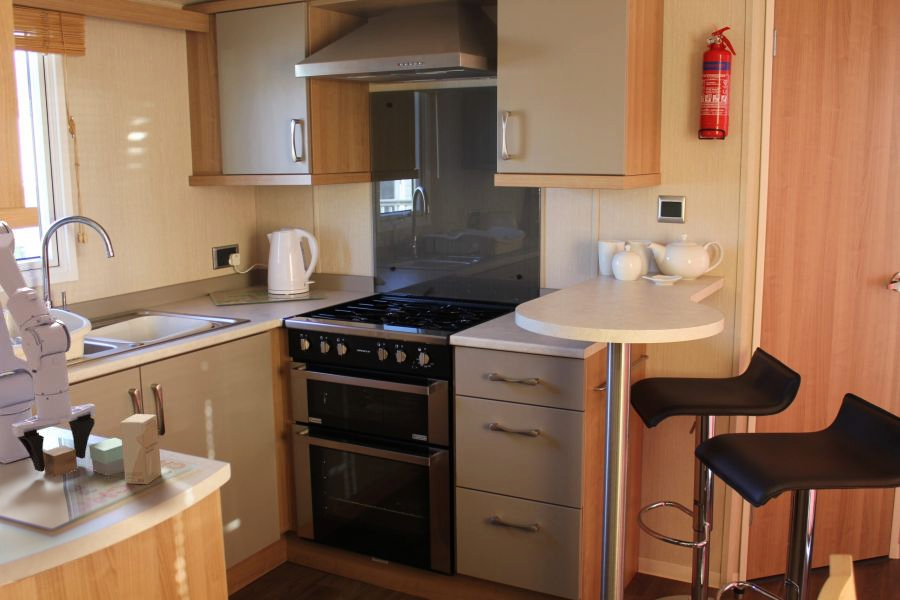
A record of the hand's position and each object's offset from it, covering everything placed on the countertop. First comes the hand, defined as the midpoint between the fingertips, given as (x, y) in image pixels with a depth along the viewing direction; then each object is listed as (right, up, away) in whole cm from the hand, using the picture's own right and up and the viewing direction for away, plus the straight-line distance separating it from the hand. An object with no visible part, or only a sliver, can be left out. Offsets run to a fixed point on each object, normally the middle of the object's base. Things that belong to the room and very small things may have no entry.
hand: (60, 463), depth 161 cm
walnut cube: (0, -2, 0) cm, 2 cm away
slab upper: (+9, +1, 0) cm, 9 cm away
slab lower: (+9, -1, +1) cm, 9 cm away
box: (+17, -2, -5) cm, 17 cm away
